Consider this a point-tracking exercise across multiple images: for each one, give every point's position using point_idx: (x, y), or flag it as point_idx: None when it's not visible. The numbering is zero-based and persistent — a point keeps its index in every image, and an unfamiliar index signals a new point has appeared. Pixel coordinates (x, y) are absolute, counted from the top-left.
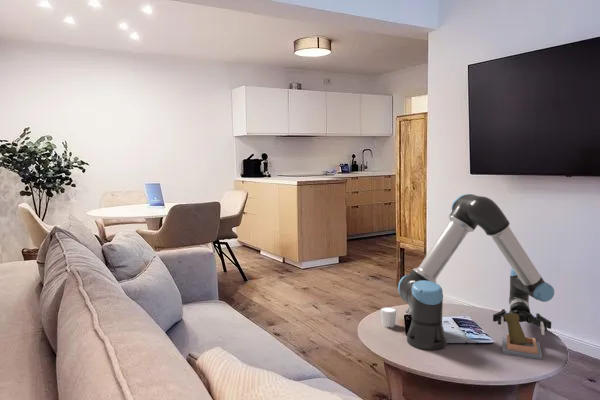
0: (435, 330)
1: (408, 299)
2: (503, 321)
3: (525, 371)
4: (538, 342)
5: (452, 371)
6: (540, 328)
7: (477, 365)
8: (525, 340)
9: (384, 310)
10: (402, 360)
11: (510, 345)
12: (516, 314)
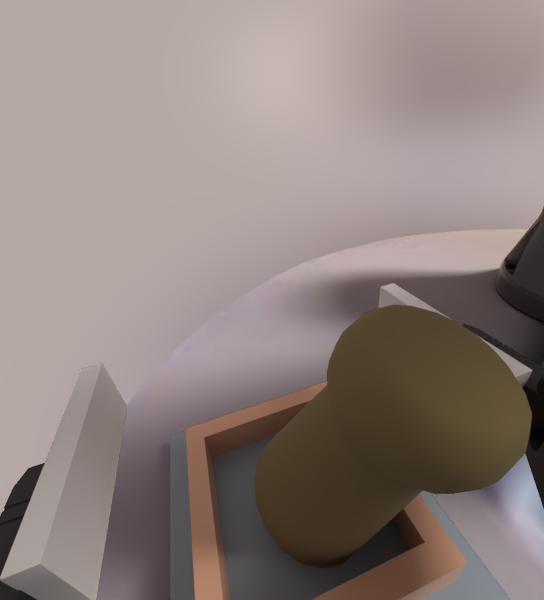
0: (535, 224)
1: None
2: (400, 300)
3: (229, 328)
4: None
5: (363, 254)
6: (96, 581)
7: (345, 288)
8: (261, 460)
9: None
10: (464, 234)
11: (321, 386)
12: (358, 334)
